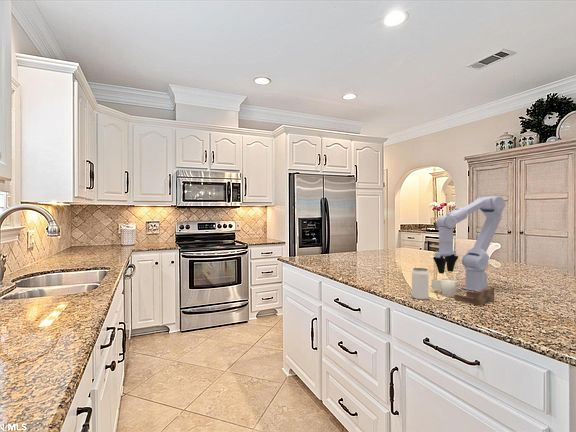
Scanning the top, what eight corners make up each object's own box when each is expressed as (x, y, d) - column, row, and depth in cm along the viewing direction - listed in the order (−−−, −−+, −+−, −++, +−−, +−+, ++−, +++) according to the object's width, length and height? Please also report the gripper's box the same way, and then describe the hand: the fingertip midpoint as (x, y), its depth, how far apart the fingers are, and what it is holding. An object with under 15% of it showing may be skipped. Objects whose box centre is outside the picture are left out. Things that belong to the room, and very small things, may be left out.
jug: (461, 296, 140) (461, 280, 140) (454, 298, 136) (454, 282, 136) (436, 290, 149) (436, 276, 149) (428, 292, 145) (428, 278, 145)
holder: (469, 295, 141) (469, 283, 141) (494, 300, 133) (494, 287, 133) (452, 300, 132) (452, 288, 132) (477, 305, 125) (477, 292, 125)
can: (430, 300, 133) (430, 270, 132) (413, 299, 134) (413, 270, 134) (426, 296, 139) (426, 268, 139) (410, 295, 140) (410, 267, 140)
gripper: (446, 243, 140) (445, 275, 141) (463, 241, 149) (462, 271, 149) (430, 242, 146) (430, 273, 146) (447, 240, 155) (447, 269, 155)
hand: (445, 272), depth 148 cm, fingers open, 7 cm apart
